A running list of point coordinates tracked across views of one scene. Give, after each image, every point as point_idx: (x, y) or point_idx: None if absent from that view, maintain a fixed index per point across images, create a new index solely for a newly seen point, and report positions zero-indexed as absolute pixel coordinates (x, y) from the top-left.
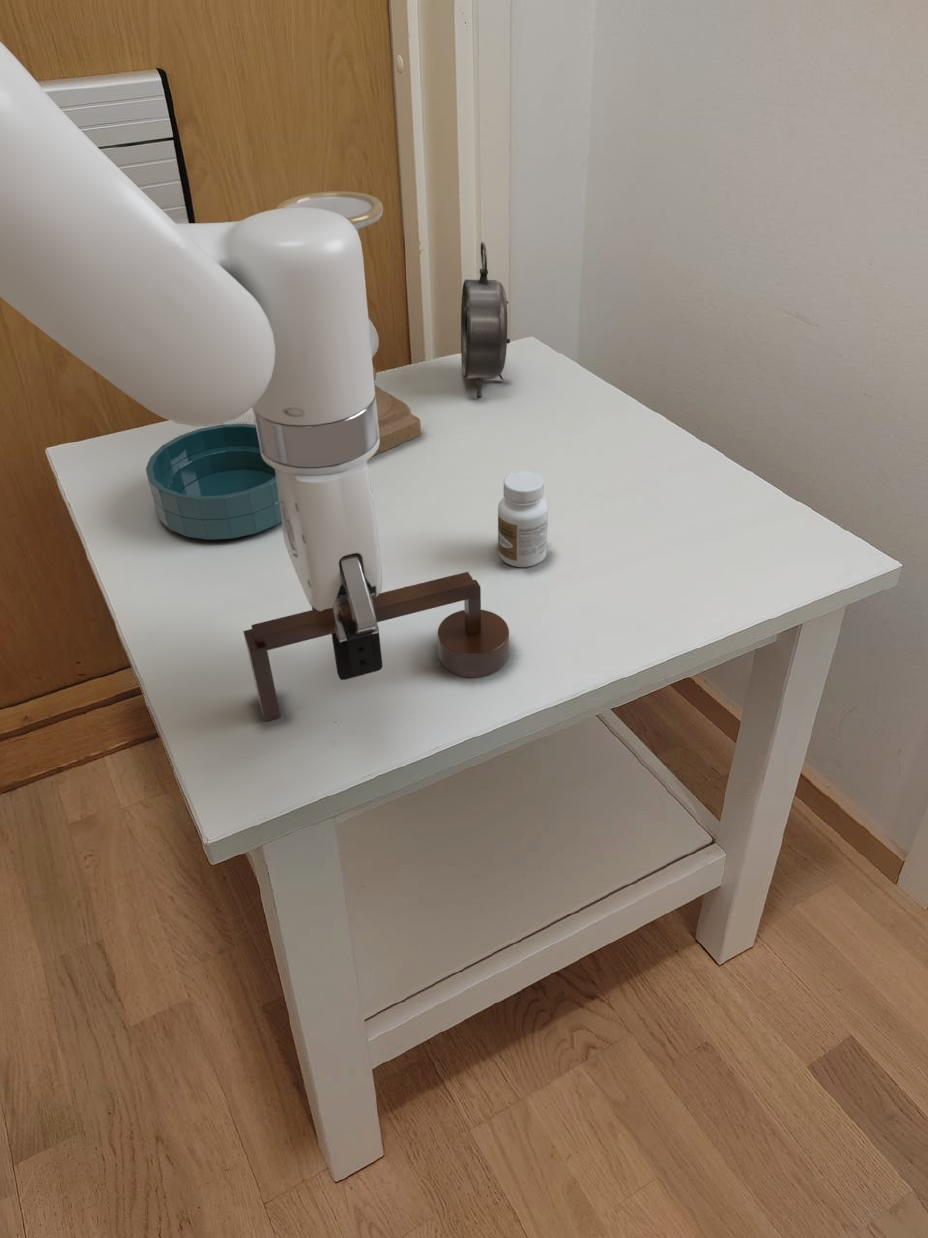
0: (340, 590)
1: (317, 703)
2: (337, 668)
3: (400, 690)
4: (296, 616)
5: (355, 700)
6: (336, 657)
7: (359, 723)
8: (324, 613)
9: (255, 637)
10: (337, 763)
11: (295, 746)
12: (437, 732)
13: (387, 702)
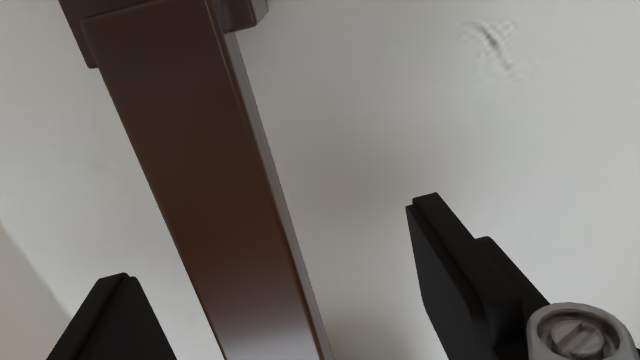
0: (454, 347)
1: None
2: (89, 300)
3: None
4: (255, 230)
5: None
6: (58, 342)
7: (162, 218)
8: (265, 339)
9: (84, 19)
10: (31, 173)
11: (82, 74)
12: None
13: None
